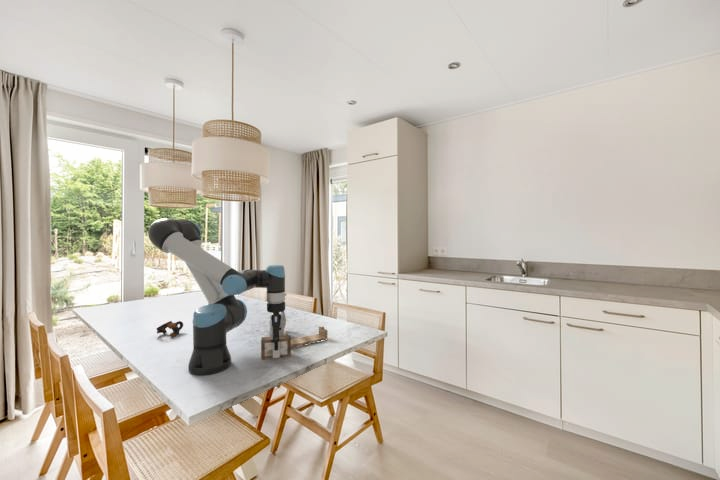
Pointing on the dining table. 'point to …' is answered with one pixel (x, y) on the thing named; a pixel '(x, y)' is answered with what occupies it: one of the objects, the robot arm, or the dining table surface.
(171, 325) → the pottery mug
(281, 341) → the frame
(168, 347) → the dining table surface
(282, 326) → the mug
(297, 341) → the ledge
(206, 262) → the robot arm
